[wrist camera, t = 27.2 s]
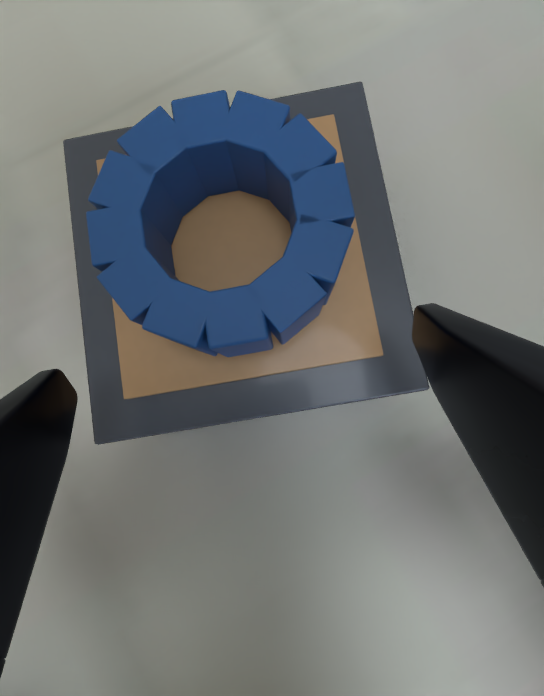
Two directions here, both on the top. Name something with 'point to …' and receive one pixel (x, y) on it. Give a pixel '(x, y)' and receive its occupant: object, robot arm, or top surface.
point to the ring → (211, 179)
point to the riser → (241, 269)
